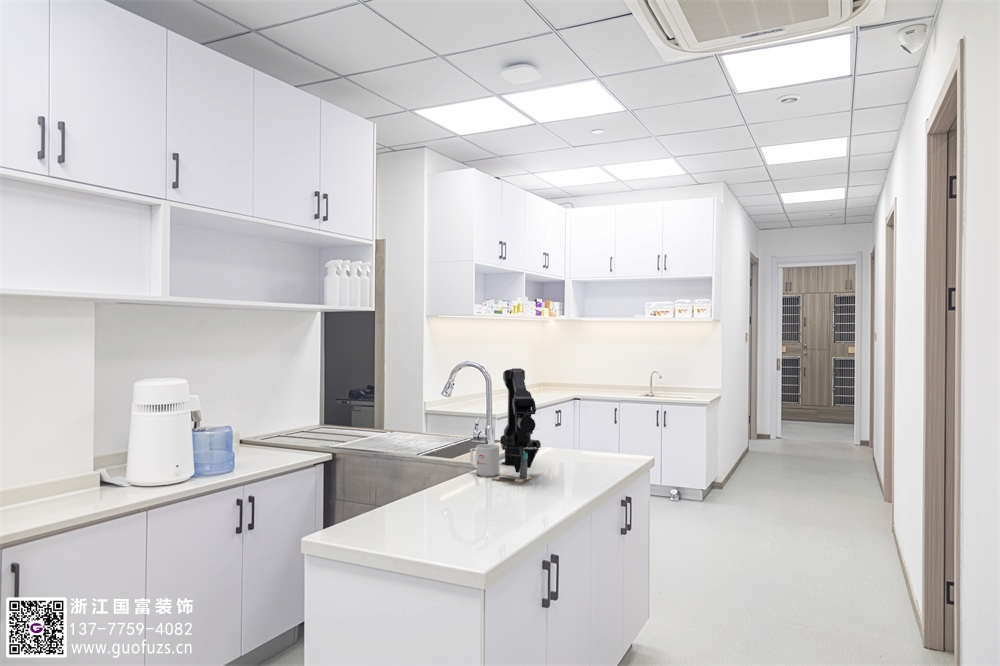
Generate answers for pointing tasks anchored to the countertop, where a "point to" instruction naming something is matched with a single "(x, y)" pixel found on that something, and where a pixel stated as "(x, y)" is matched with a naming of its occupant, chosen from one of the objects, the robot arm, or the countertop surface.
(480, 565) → the countertop surface
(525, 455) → the marker
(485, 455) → the mug
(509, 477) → the clipboard
